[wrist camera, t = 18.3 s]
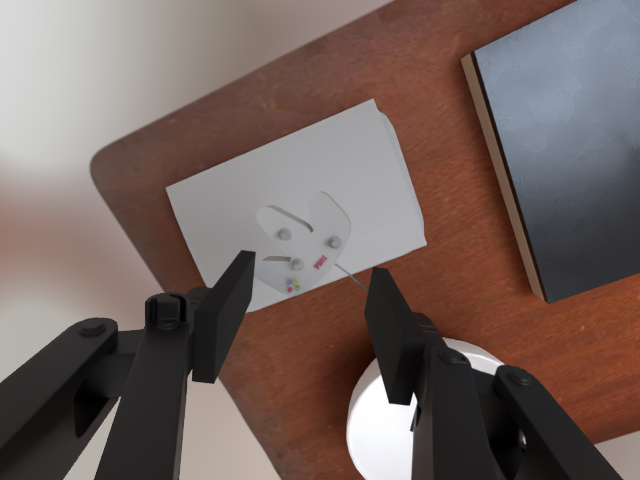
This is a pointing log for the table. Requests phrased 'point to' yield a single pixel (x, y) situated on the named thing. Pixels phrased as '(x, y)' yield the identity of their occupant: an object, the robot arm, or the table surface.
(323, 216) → the game controller
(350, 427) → the bowl
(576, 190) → the laptop screen
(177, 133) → the table surface
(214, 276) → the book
